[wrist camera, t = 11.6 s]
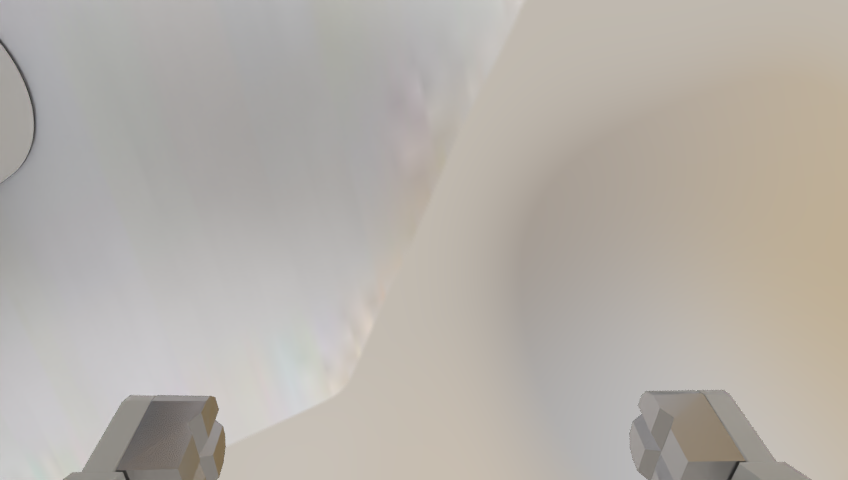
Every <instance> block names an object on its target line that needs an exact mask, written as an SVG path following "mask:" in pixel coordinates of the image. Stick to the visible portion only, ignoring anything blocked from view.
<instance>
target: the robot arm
mask: <svg viewBox="0 0 848 480" xmlns="http://www.w3.org/2000/svg"><path fill="white" fill-rule="evenodd" d="M33 132H34V118H33V110H32V105H31V101H30V97H29V94H28V91H27V88H26V86H25V83H24V81H23V79H22V77H21V75H20V73H19V71H18V69H17V67H16V65H15V64H14V62H13V61H12V59H11V57H10V56H9V54H8V53H7V52H6V50H5V49H4V48H3V46H2V45H1V44H0V183H2V182H3V181H4V180H6V179H7V178H8V177H10V176H11V175H12V174H13V173H14V172H15V171H17V170H18V168H19V167H20V166H21V165H22V163H23V162H24V160H25V159H26V157H27V155H28V153H29V150H30V148H31V144H32V140H33ZM638 406H639V408H640V411H641V413H642V414H641V415H640V416H639V417H638V418H636V419H635V420H634V421H633V422H632V426H631V430H630V450H631V454H632V458H633V461H634V463H635V466H636V468H637V471H638V472H639V473H641V474H642V475H643V476H644V477H645V478H646V479H648V480H811V479H810V478H808V477H807V476H805V475H804V474H802V473H801V472H799V471H797V470H796V469H795V468H793V467H792V466H790V465H789V464H787V463H786V462H777V461H776V460H775V459H774V457H773V456H772V454H771V453H770V451H769V450H768V448H767V447H766V446H765V444H764V443H763V441H762V440H761V438H760V437H759V436H758V434H757V433H756V431H755V430H754V428H753V427H752V425H751V424H750V422H749V421H748V420H747V418H746V417H745V415H744V414H743V412H742V411H741V410H740V408H739V407H738V405H737V404H736V402H735V401H734V399H733V398H732V396H731V395H730V394H729V393H727V392H726V391H724V390H698V391H694V390H685V391H683V390H682V391H646V392H645V393H644V394H642V395H641V398H640V401H639V404H638ZM218 411H219V408H218V405H217V402H216V398H215V397H212V396H179V395H157V396H153V395H130V396H129V397H127V398H126V399H125V400H124V401H123V402H122V403H121V405H120V407H119V408H118V410H117V412H116V413H115V415H114V417H113V419H112V420H111V422H110V424H109V425H108V427H107V429H106V431H105V432H104V434H103V436H102V437H101V439H100V441H99V443H98V444H97V446H96V448H95V450H94V451H93V453H92V455H91V456H90V458H89V460H88V462H87V463H86V465H85V467H84V468H83V470H82V472H73V473H71V474H70V475H68V476H67V477H66V478H64V479H63V480H217V479H218V478H219V475H220V472H221V469H222V465H223V461H224V455H225V447H226V446H225V433H224V429H223V426H222V425H221V424H220V423H218V422H217V421H216V420H215V419H216V416H217V413H218Z"/></svg>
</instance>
